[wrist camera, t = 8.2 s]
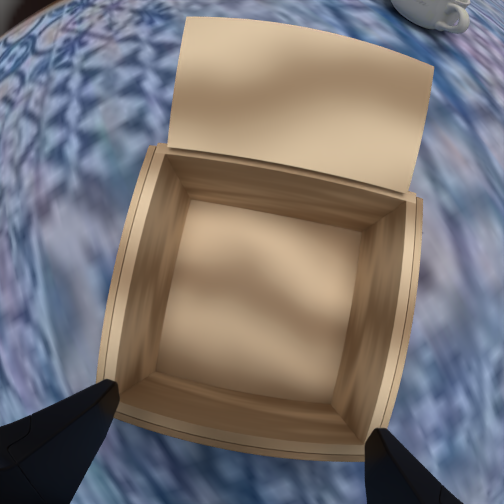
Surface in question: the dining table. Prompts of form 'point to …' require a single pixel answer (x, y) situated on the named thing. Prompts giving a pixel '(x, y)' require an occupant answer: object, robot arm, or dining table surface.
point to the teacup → (435, 13)
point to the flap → (300, 99)
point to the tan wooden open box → (260, 305)
